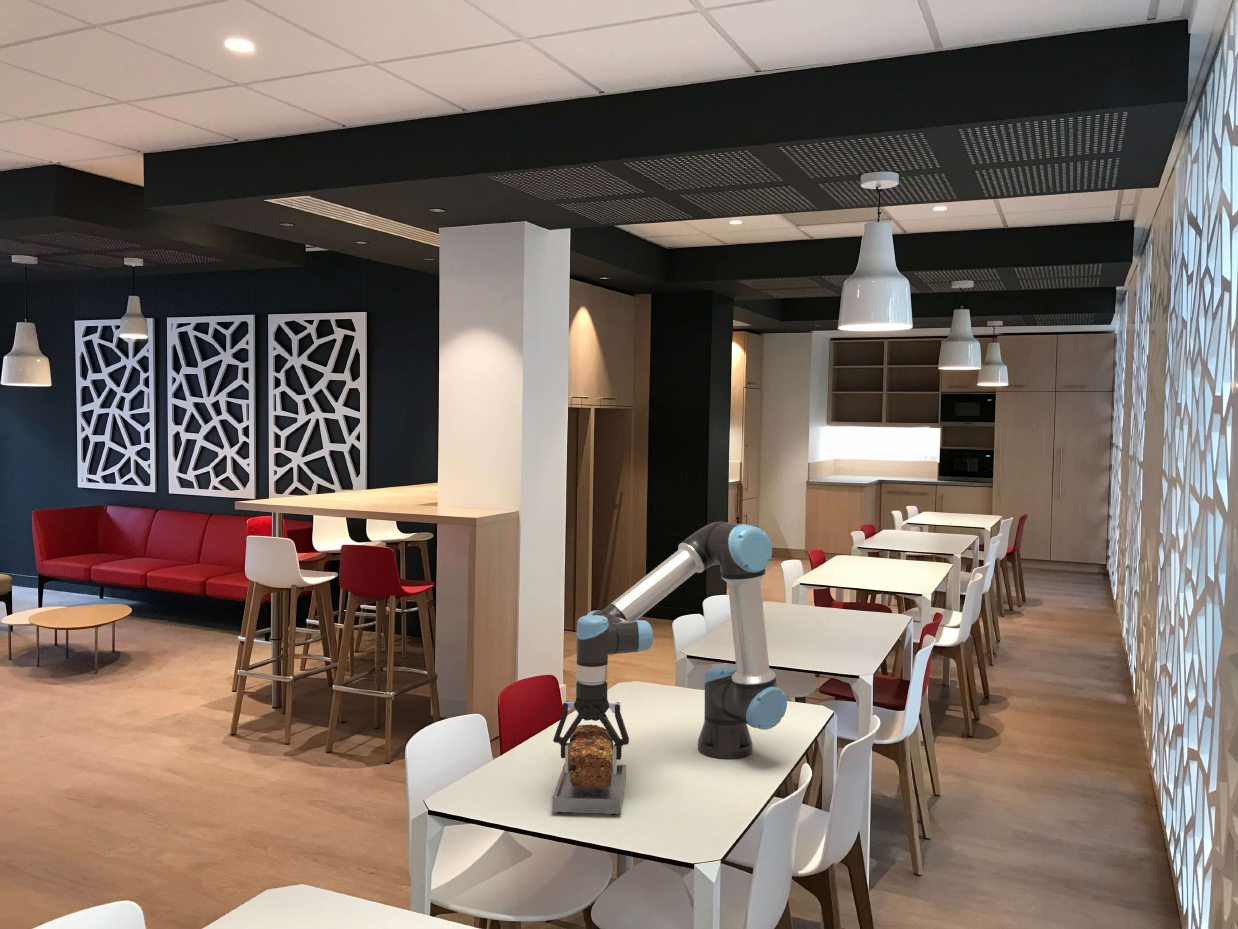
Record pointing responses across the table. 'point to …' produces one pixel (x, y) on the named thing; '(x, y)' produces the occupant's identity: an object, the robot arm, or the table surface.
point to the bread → (590, 756)
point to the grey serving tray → (589, 795)
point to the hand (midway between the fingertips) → (590, 772)
